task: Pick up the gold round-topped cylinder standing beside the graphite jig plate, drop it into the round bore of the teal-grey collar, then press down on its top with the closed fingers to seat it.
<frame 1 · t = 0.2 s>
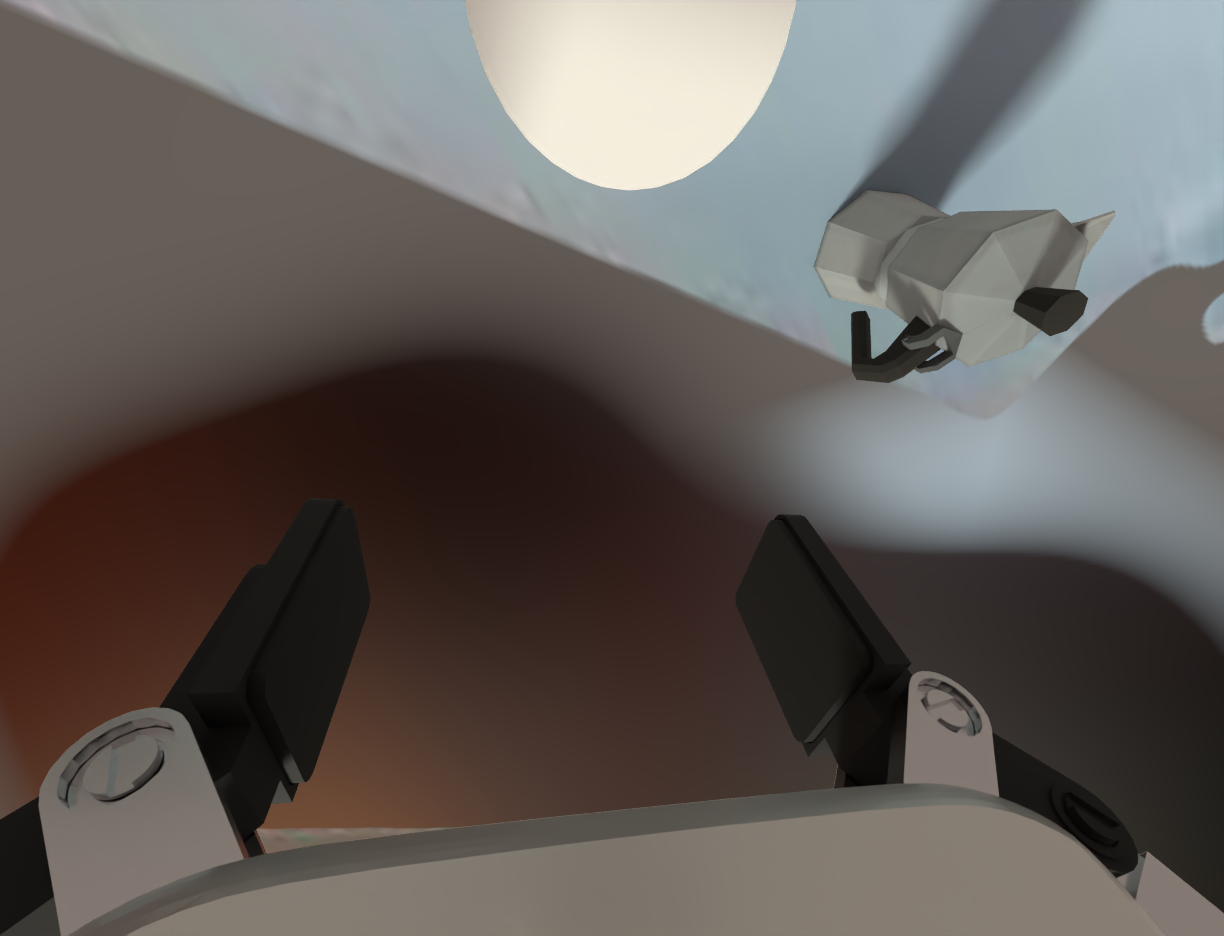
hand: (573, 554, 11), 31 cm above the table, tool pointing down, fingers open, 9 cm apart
coffee maker: (851, 256, 39), on the table
cylindrical container: (564, 90, 30), on the table
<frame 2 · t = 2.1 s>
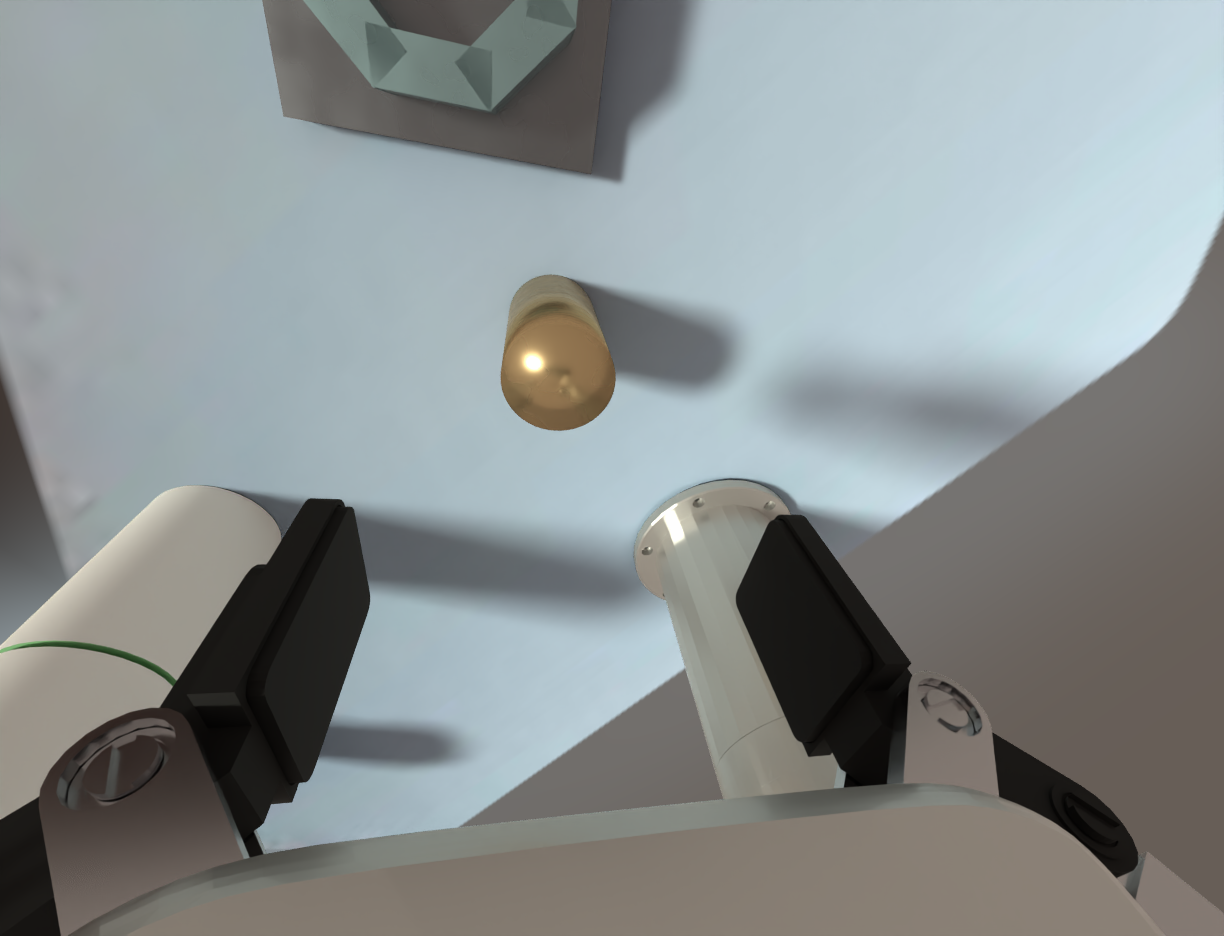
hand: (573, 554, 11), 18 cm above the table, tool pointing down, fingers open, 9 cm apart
cylindrical container: (219, 527, 30), on the table
gold round-topped cylinder: (552, 319, 25), on the table
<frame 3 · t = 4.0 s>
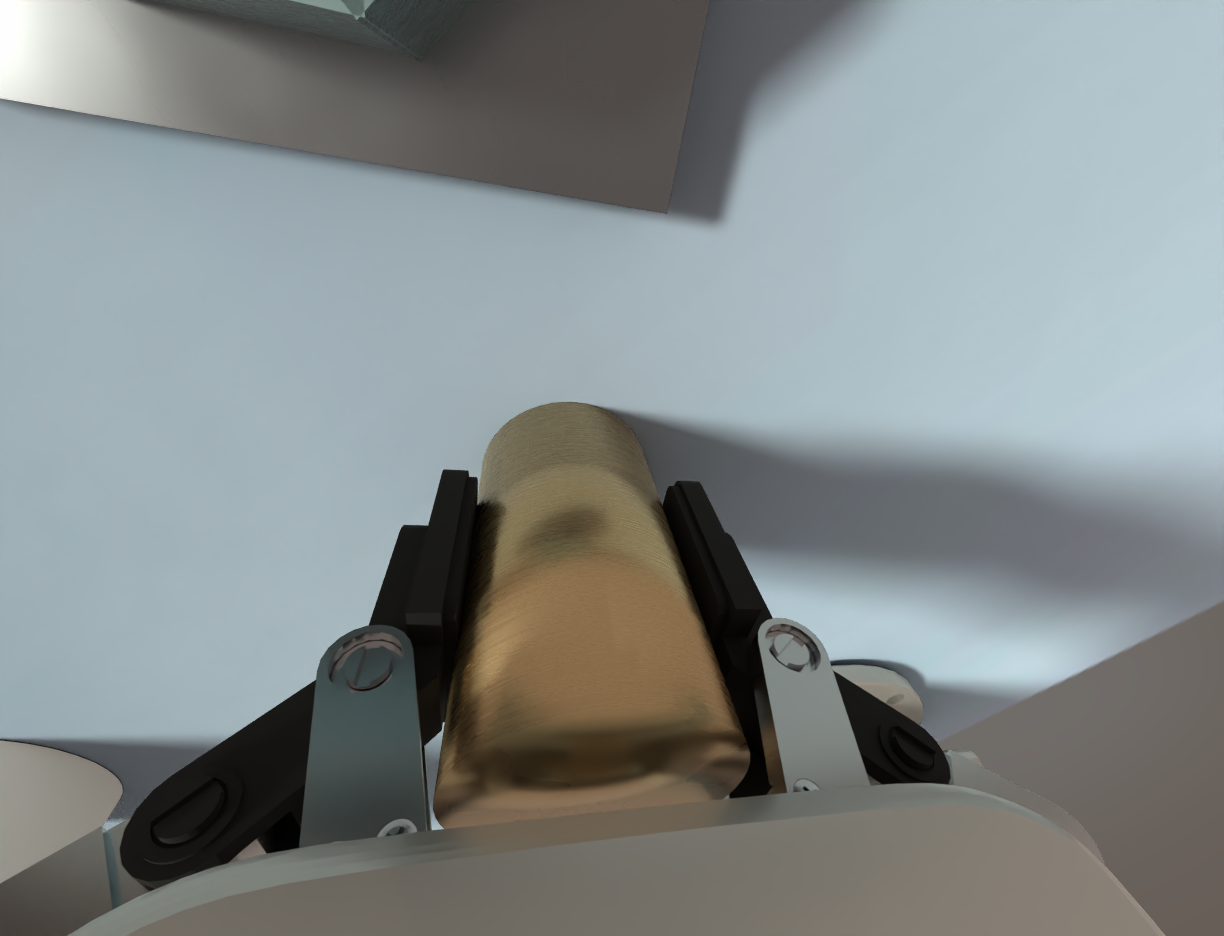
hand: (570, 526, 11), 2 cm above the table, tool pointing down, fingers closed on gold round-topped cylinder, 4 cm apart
cylindrical container: (10, 779, 18), on the table
gold round-topped cylinder: (565, 474, 13), on the table, touching gripper
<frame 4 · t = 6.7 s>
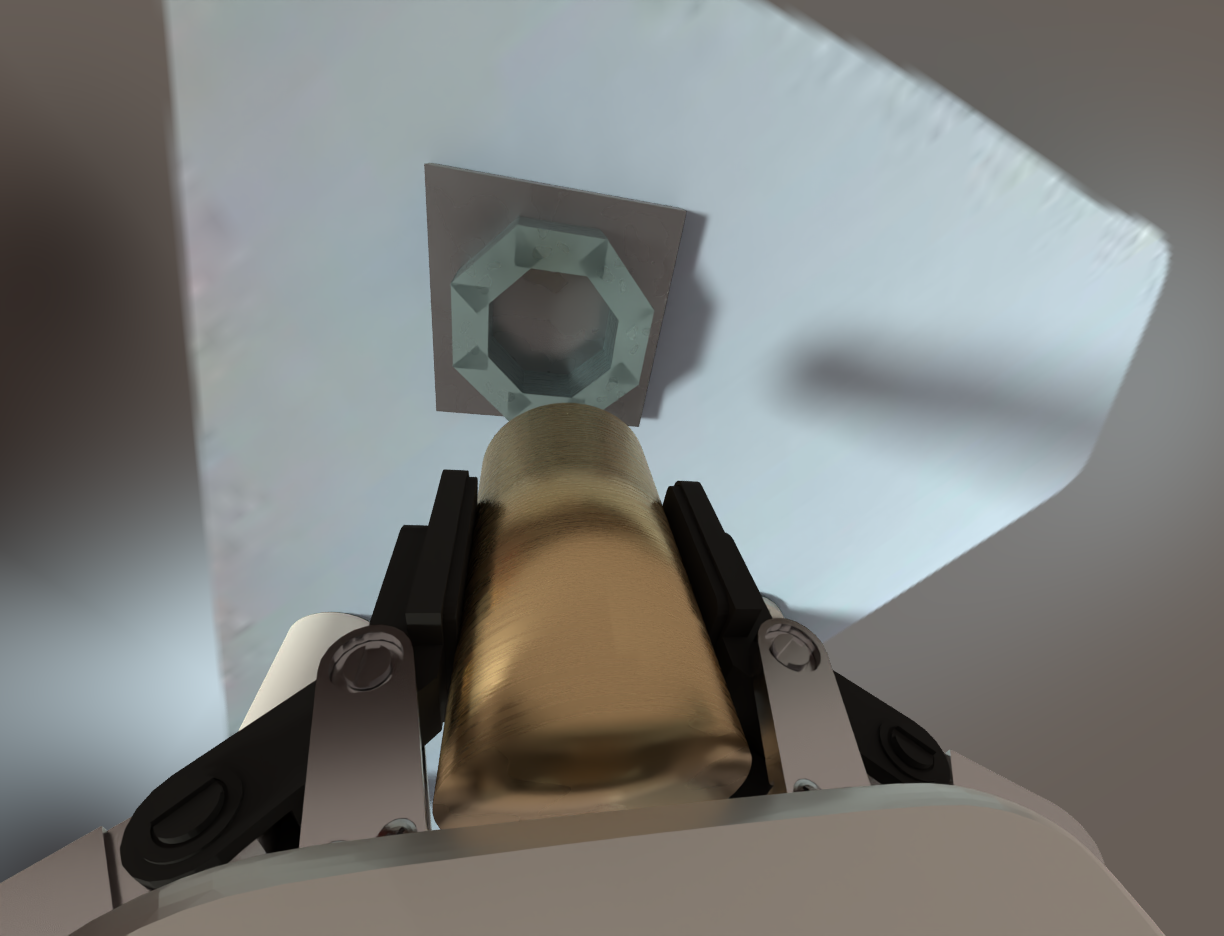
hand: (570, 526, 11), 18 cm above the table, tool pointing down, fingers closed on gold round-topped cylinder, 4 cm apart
cylindrical container: (338, 638, 39), on the table
gold round-topped cylinder: (565, 475, 13), point 16 cm above the table, touching gripper
jig: (550, 311, 26), on the table
when the fingers open (6 cm above the table, at t = 9.3 s): gold round-topped cylinder drops 2 cm, resting on jig.
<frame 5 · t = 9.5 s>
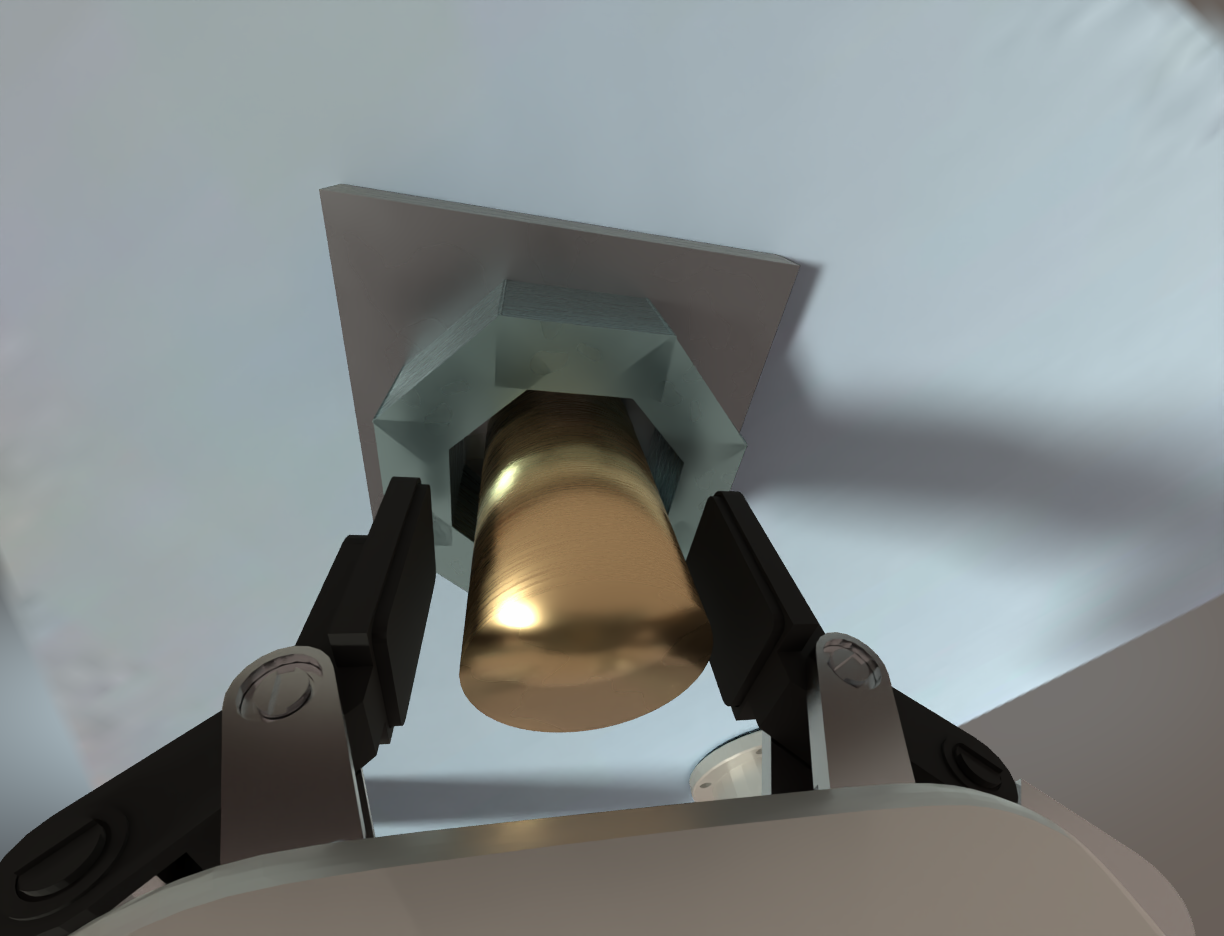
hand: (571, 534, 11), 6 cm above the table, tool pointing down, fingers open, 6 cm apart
gold round-topped cylinder: (560, 438, 15), point 2 cm above the table, touching jig
jig: (559, 414, 16), on the table
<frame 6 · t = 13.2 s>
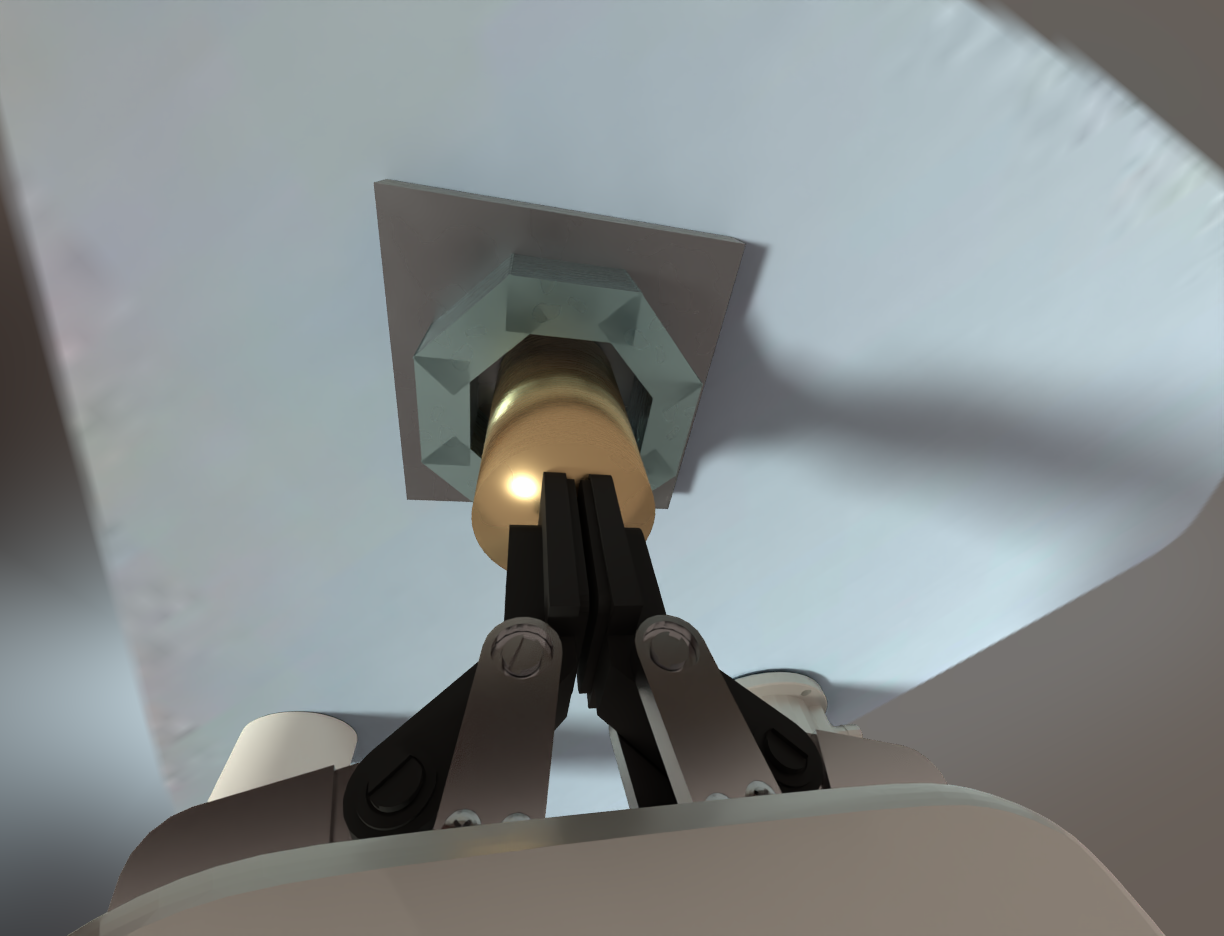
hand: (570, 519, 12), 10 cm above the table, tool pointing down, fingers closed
cylindrical container: (302, 736, 33), on the table
gold round-topped cylinder: (556, 387, 18), point 2 cm above the table, touching gripper, jig
jig: (555, 370, 20), on the table
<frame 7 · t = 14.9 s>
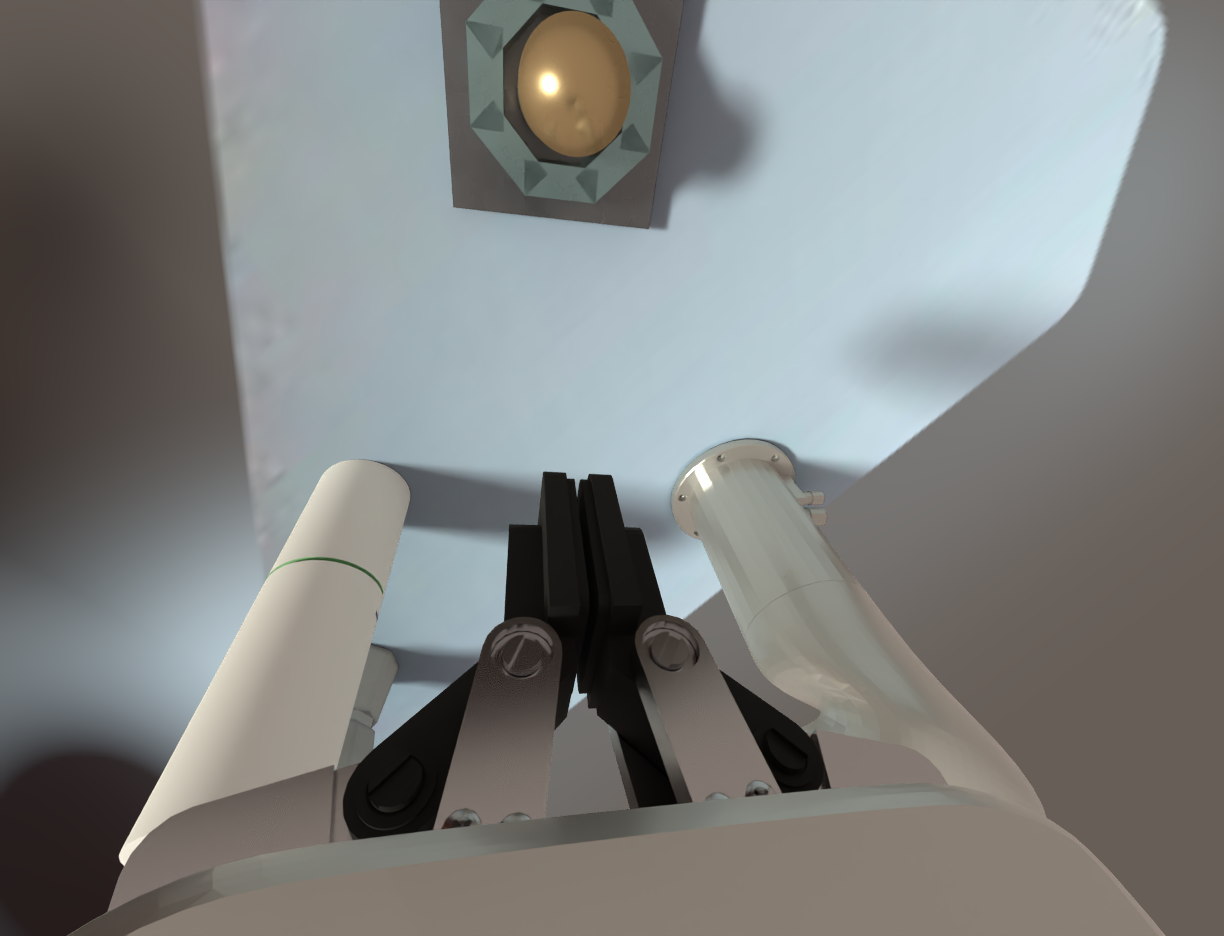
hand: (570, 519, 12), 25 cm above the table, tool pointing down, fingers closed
coffee maker: (350, 659, 54), on the table
cylindrical container: (366, 491, 40), on the table
gold round-topped cylinder: (560, 95, 25), point 1 cm above the table, touching jig
jig: (559, 96, 26), on the table
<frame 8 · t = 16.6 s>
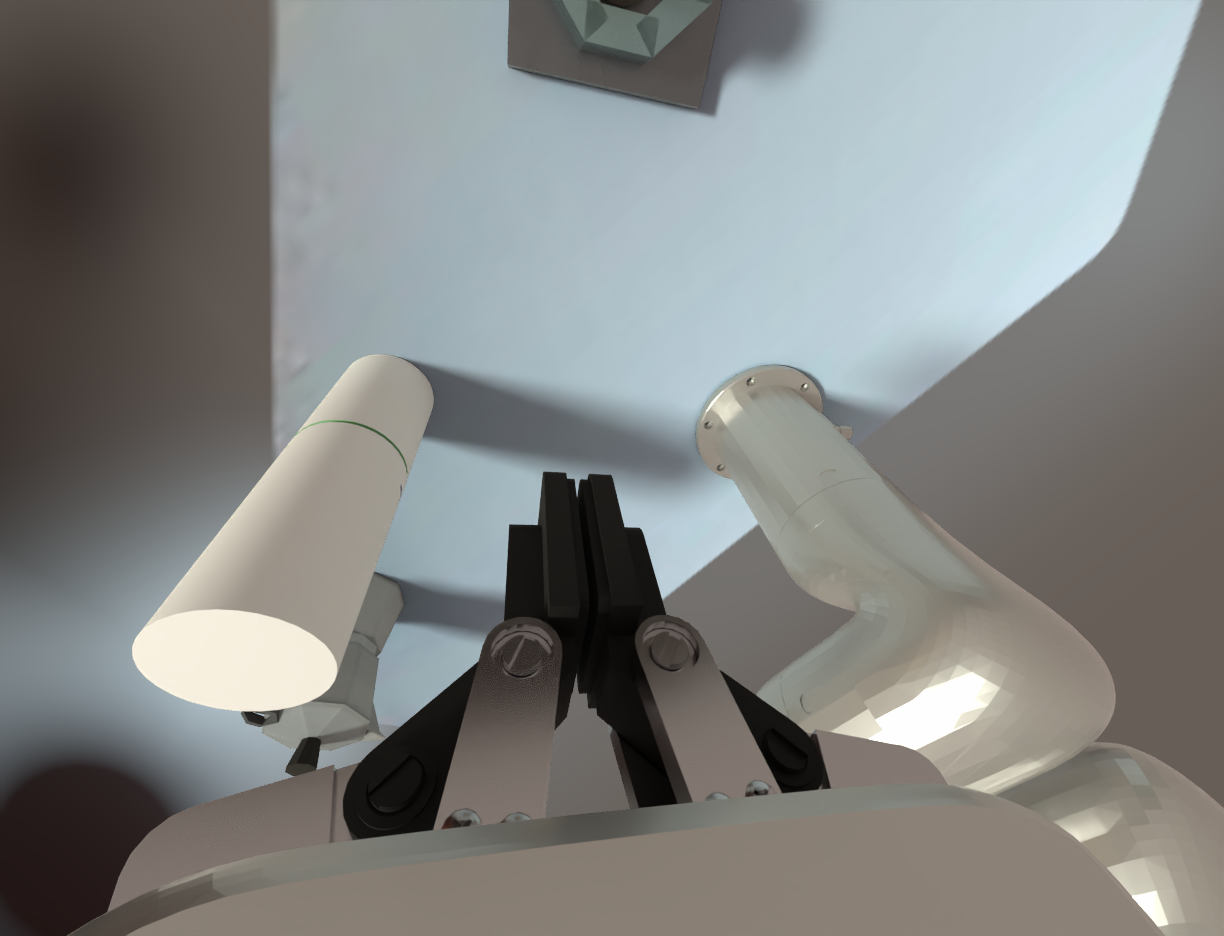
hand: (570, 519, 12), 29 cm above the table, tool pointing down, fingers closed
coffee maker: (355, 591, 52), on the table
cylindrical container: (389, 393, 39), on the table
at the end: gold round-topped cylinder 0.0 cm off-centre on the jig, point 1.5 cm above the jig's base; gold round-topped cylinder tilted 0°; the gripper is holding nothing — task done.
